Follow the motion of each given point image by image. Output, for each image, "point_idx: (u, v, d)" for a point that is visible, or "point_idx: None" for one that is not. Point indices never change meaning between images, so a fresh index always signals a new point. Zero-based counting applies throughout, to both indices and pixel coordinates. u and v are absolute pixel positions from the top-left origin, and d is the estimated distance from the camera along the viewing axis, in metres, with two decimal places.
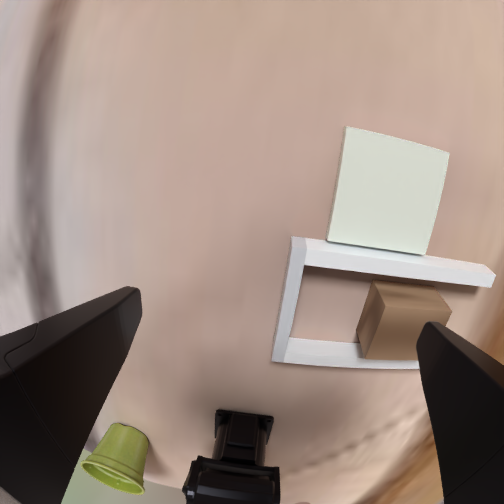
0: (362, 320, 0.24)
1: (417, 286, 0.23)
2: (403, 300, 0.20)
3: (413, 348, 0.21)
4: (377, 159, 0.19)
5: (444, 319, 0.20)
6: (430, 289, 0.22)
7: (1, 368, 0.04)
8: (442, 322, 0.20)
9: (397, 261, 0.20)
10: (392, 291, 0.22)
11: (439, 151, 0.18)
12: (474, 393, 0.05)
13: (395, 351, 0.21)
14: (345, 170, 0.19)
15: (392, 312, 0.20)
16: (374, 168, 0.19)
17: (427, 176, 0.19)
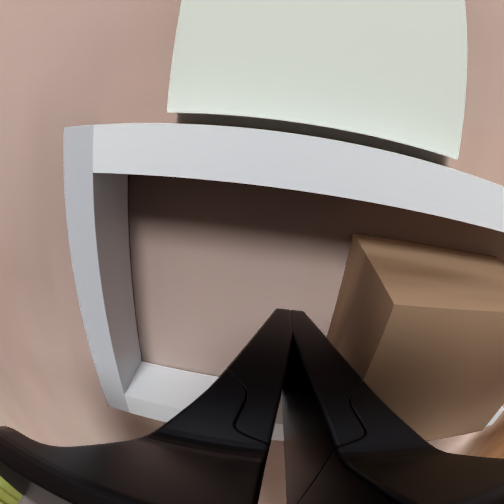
0: (331, 342, 0.10)
1: (466, 255, 0.08)
2: (446, 286, 0.06)
3: (459, 414, 0.07)
4: None
5: None
6: (494, 263, 0.08)
7: (250, 446, 0.04)
8: None
9: (380, 150, 0.06)
10: (411, 262, 0.07)
11: None
12: (301, 398, 0.05)
13: (415, 425, 0.07)
14: None
15: (418, 327, 0.05)
16: None
17: None
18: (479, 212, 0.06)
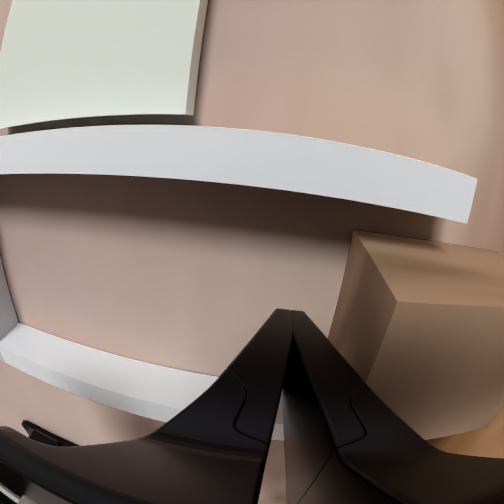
0: (334, 341, 0.09)
1: (469, 251, 0.08)
2: (449, 282, 0.06)
3: (464, 411, 0.06)
4: None
5: None
6: (497, 258, 0.08)
7: (250, 445, 0.04)
8: None
9: (69, 129, 0.06)
10: (413, 258, 0.07)
11: None
12: (301, 398, 0.06)
13: (420, 423, 0.07)
14: (15, 6, 0.06)
15: (421, 324, 0.05)
16: None
17: None
18: (178, 163, 0.07)
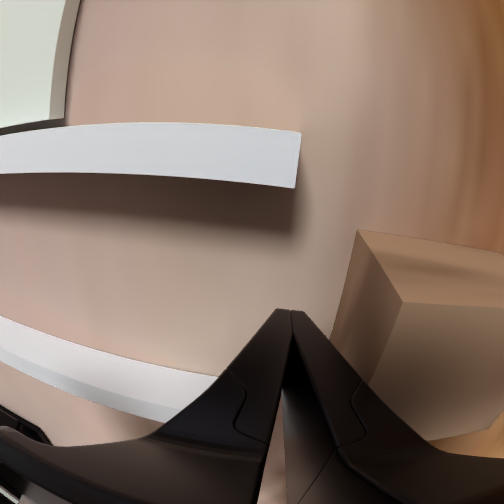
0: (336, 342, 0.09)
1: (472, 252, 0.08)
2: (454, 283, 0.06)
3: (466, 412, 0.06)
4: None
5: None
6: (499, 258, 0.08)
7: (249, 445, 0.04)
8: None
9: None
10: (417, 258, 0.07)
11: None
12: (302, 398, 0.05)
13: (422, 425, 0.07)
14: None
15: (426, 325, 0.05)
16: None
17: None
18: (30, 160, 0.07)
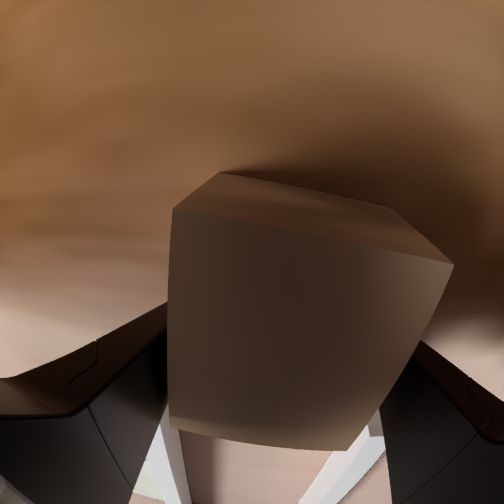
0: None
1: None
2: None
3: (357, 348, 0.06)
4: None
5: (217, 240, 0.05)
6: None
7: (71, 400, 0.04)
8: (233, 248, 0.05)
9: (162, 495, 0.14)
10: None
11: None
12: (421, 399, 0.05)
13: (345, 399, 0.06)
14: None
15: (187, 417, 0.07)
16: None
17: None
18: (169, 482, 0.13)
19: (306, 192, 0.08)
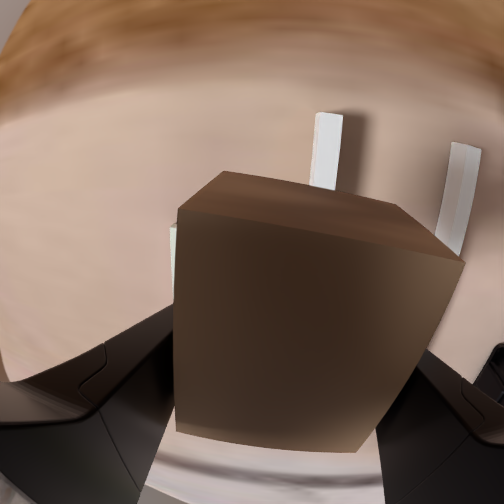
0: None
1: None
2: None
3: (369, 349, 0.05)
4: None
5: (225, 240, 0.05)
6: None
7: (80, 404, 0.04)
8: (241, 248, 0.05)
9: None
10: None
11: (172, 240, 0.19)
12: (414, 399, 0.05)
13: (355, 401, 0.06)
14: None
15: (194, 420, 0.07)
16: None
17: None
18: None
19: (312, 190, 0.08)
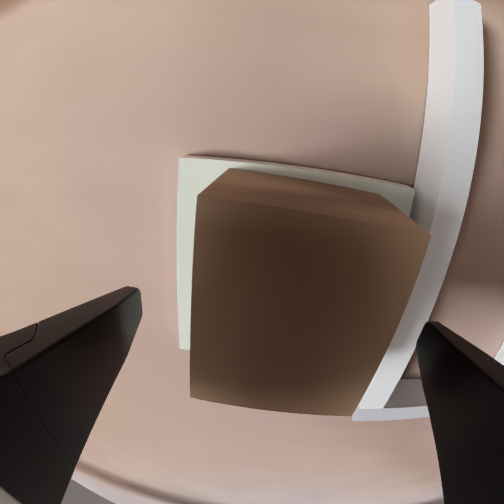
0: None
1: None
2: None
3: (354, 310, 0.07)
4: None
5: (233, 220, 0.06)
6: None
7: (2, 367, 0.04)
8: (247, 225, 0.06)
9: None
10: None
11: (181, 184, 0.10)
12: (474, 393, 0.05)
13: (347, 360, 0.07)
14: None
15: (206, 384, 0.08)
16: None
17: None
18: (460, 195, 0.08)
19: (305, 183, 0.09)
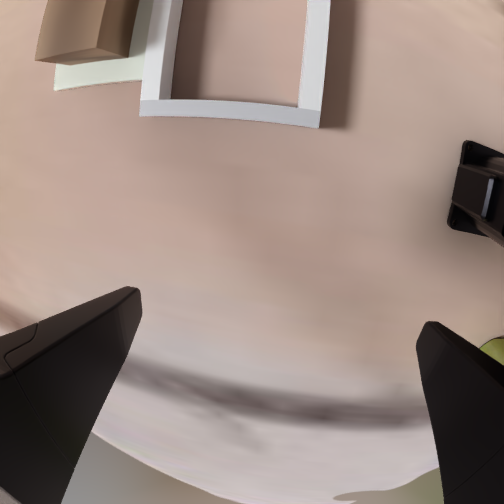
0: (103, 58, 0.15)
1: None
2: None
3: None
4: None
5: None
6: None
7: (1, 367, 0.04)
8: None
9: None
10: None
11: None
12: (474, 393, 0.05)
13: (89, 13, 0.11)
14: (83, 81, 0.16)
15: (41, 48, 0.12)
16: None
17: None
18: None
19: None
